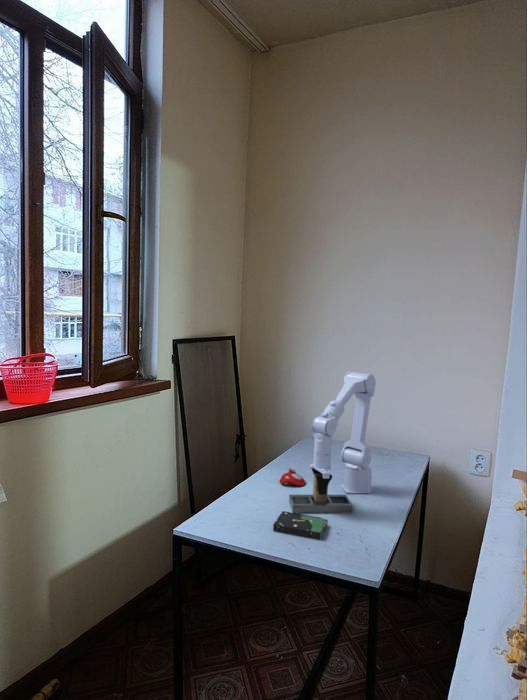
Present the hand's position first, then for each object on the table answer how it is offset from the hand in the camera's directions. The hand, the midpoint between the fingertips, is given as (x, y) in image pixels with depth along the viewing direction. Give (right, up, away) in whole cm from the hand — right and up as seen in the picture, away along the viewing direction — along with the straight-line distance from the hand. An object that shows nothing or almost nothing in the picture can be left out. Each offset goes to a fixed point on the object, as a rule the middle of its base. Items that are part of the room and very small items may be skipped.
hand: (320, 491), depth 164 cm
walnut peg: (0, -3, 0) cm, 3 cm away
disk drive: (-8, -8, -15) cm, 19 cm away
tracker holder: (-8, -3, +23) cm, 25 cm away
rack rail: (0, -5, +1) cm, 5 cm away
